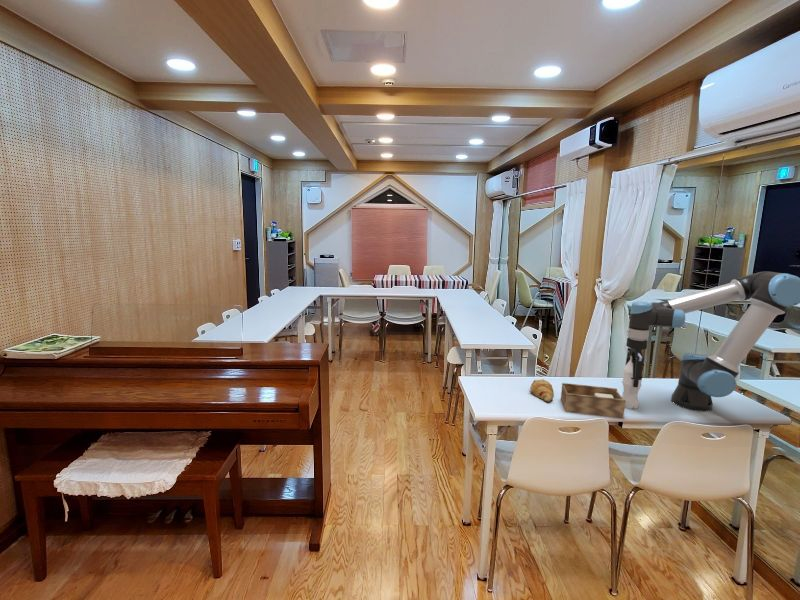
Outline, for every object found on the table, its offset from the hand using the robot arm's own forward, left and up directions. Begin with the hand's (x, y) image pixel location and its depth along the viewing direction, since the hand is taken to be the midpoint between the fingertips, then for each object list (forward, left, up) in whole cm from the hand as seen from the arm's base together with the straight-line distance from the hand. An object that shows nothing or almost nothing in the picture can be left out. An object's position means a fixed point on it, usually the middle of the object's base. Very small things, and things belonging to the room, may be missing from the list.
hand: (630, 390), depth 176 cm
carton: (+11, +8, -7) cm, 16 cm away
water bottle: (0, 0, -8) cm, 8 cm away
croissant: (+36, -5, -9) cm, 37 cm away
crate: (+17, +8, -8) cm, 20 cm away
